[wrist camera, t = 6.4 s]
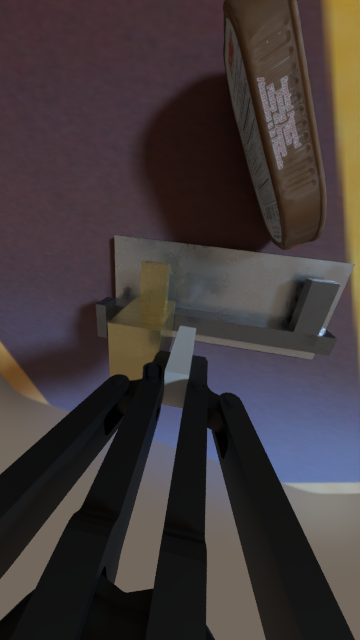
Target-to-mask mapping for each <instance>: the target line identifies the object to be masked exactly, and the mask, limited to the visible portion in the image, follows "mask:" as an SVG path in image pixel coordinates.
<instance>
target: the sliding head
mask: <svg viewBox="0 0 360 640" xmlns="http://www.w3.org/2000/svg"><path fill="white" fill-rule="evenodd" d="M170 267H171V263H165V262H157V261H149V260H145V261H142V262H141V292H140V297H139V296H138V297H137V298H135V299H134V300H133V301H132V302H131V303H130V304H129V305H127V306H126V307H125V308H124V309H123V310H122V311H120V312H119V313H118V314H117V315H116V316H115V317H113V318H112V319H111V320H110V321H109V322H108V342H109V365H110V377H111V376H113V375H116V374H122V375H126V376H127V377H128V378H129V380H138V379H141V378H142V377H143V366H144V365H145V364H146V363H149V362H153V360H154V357H155V355H156V353H158V352H159V351H160V350H161V351H167V352H169V350H170V347H171V344H172V334H173V324H174V314H175V305H176V302H174V301H168V290H169V278H170Z"/></svg>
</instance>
